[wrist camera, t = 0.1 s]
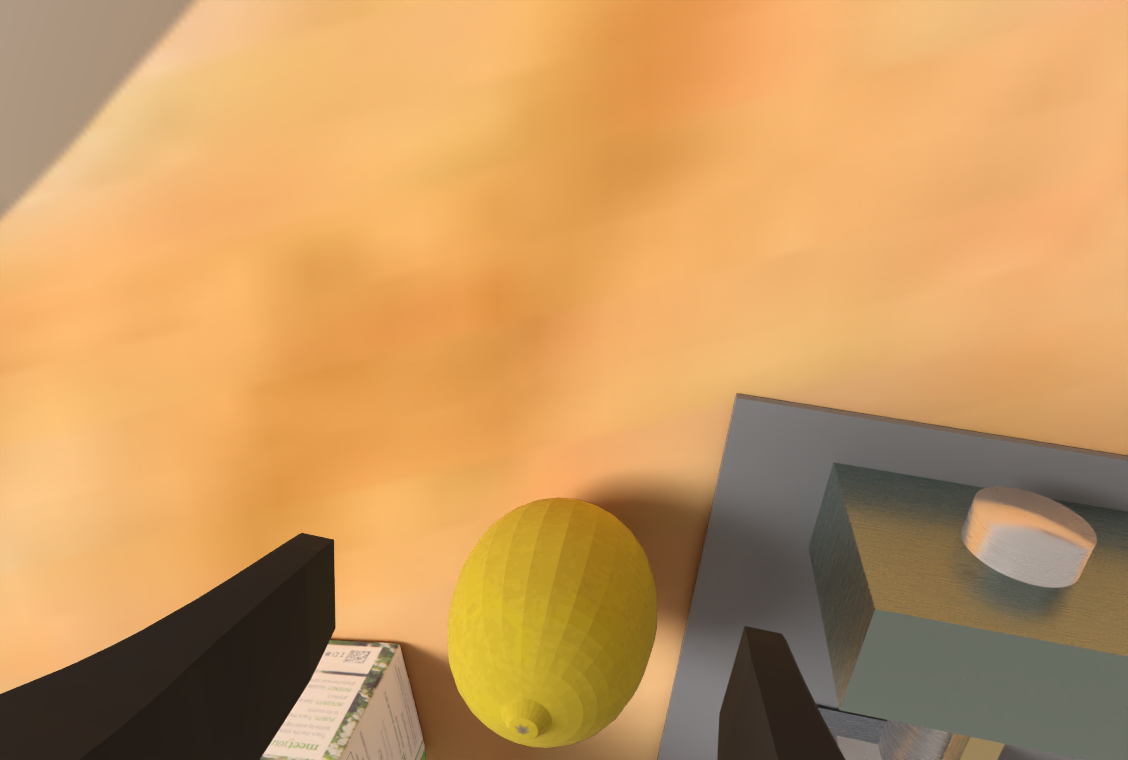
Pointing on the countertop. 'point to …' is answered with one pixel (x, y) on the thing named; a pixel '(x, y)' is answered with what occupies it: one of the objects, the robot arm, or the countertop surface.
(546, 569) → the lemon
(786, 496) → the mat
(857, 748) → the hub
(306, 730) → the syrup box
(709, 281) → the countertop surface
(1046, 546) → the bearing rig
